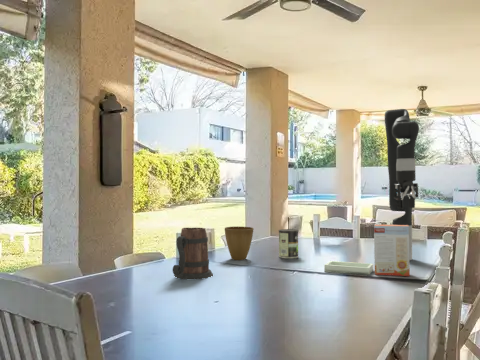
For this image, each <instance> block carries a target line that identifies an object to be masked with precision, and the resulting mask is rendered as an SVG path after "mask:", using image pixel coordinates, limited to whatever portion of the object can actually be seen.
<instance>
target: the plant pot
mask: <svg viewBox="0 0 480 360" xmlns="http://www.w3.org/2000/svg"><path fill="white" fill-rule="evenodd" d="M253 234H254V227H252V226H225V227H224V235H225V240H226V245H227V248H228V252H229V254H230V258H231V260H233V259H234V261H244V259H245V260H246V259H248V258H247V257H248V255H249V252H250V248H251V246H252V240H253Z"/></svg>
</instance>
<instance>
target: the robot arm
mask: <svg viewBox="0 0 480 360" xmlns="http://www.w3.org/2000/svg"><path fill="white" fill-rule="evenodd" d="M409 113H410V112H409V111H408V110H407V109H406V108H399V109H398V108H396V109H388V110H386V111H385V113H384V126H385V136H386V149H387V151H386V152H387V153H386V154H387V171H388V183H389V184H388V185H389V186H388V187H389V188H388V189H389V190H388V193H389V195H388V196H389V197H388V201H389V202H388V205H389V209H390V211H391V212H404V214H403V215H401V216H399V217H396V218H393V219H392V225H408V226H409V261H413V209H414V208H416V199H417V198H419V184H418V183H416V182H415V181H416V161H415V159H416V158H415V149H416V148H415V147H416V142H417V138H418V136H419V132H420V128H419V124H418V123H417V122H416V121H411V119H410V114H409ZM398 139H399V140H405V139H406V140H407V139H409V140H408V142H406V143H403V144H401V143H400V142H399V141H398Z"/></svg>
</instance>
